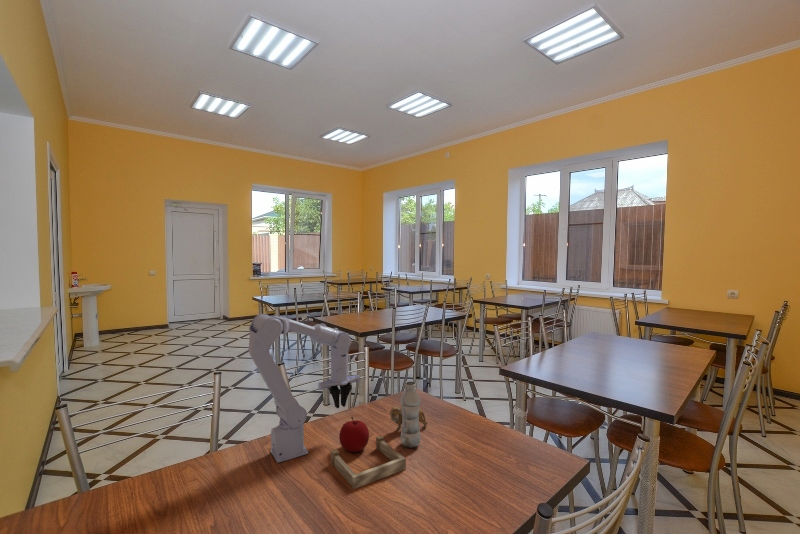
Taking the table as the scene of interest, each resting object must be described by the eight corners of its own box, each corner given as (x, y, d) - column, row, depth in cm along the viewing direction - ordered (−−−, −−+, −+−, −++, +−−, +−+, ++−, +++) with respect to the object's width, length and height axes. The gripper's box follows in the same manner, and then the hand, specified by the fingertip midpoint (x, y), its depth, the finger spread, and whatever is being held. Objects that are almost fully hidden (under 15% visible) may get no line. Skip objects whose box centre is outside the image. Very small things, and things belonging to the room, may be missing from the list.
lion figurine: (394, 437, 126) (394, 411, 125) (387, 431, 130) (386, 405, 130) (431, 427, 133) (431, 402, 132) (423, 421, 137) (423, 397, 137)
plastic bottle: (421, 440, 124) (420, 380, 123) (420, 451, 117) (420, 387, 116) (401, 439, 124) (401, 379, 124) (399, 450, 118) (399, 386, 117)
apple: (341, 458, 113) (340, 425, 113) (338, 444, 122) (337, 413, 121) (371, 454, 115) (371, 421, 115) (366, 440, 124) (366, 410, 124)
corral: (352, 489, 98) (352, 475, 98) (330, 463, 110) (330, 451, 110) (406, 468, 108) (406, 455, 107) (381, 447, 120) (381, 435, 119)
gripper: (323, 373, 119) (324, 415, 120) (364, 365, 127) (364, 405, 128) (315, 368, 125) (316, 408, 126) (355, 360, 133) (355, 398, 134)
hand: (340, 406), depth 127 cm, fingers closed
